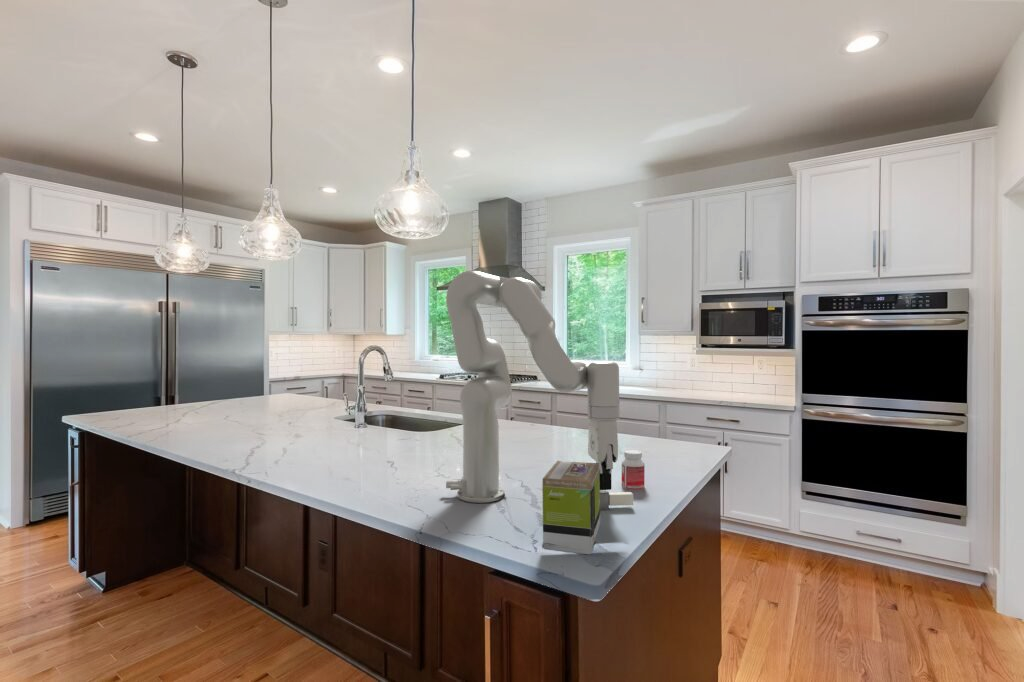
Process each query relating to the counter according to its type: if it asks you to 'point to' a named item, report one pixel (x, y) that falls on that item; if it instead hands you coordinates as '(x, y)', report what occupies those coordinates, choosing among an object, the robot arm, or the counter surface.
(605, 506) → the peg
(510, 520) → the counter surface
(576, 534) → the tea box
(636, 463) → the pill bottle
